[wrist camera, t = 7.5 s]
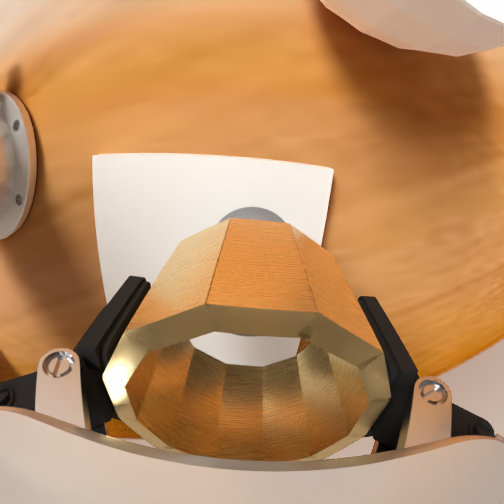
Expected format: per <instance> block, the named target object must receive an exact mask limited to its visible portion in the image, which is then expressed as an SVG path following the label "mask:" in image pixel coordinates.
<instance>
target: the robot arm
mask: <svg viewBox="0 0 504 504" xmlns="http://www.w3.org/2000/svg"><path fill="white" fill-rule="evenodd" d="M36 166H37V157H36V143H35V137H34V132H33V127H32V124H31V120H30V117H29V114H28V112H27V110H26V108H25V106H24V104H23V103H22V102H21V101H20V100H19V98H18V97H17V96H15V95H14V94H12V93H10V92H6V91H0V240H1V239H4V238H7V237H8V236H10V235H11V234H13V233H15V232H16V231H17V230H18V229H19V228H20V227H21V226H22V224H23V222H24V220H25V219H26V217H27V215H28V212H29V209H30V207H31V204H32V199H33V195H34V191H35V182H36ZM150 288H151V284H150V282H147V281H146V278H145V277H139V276H129V277H128V278H127V280H126V281H125V282H124V283H123V285H122V286H121V287H120V288H119V290H118V291H117V292H116V294H115V295H114V296H113V298H112V299H111V300H110V302H109V303H108V304H107V306H106V307H104V308H103V309H102V311H101V312H100V313H99V315H98V316H97V317H96V319H95V320H94V322H93V323H92V324H91V326H90V327H89V329H88V330H87V331H86V333H85V334H84V336H83V337H82V338H81V340H80V341H79V343H78V344H77V346H76V347H75V348H74V350H73V351H72V350H70V349H67V348H57V349H53V350H51V351H49V352H47V353H46V354H44V355H43V356H42V358H41V359H40V361H39V364H38V371H37V372H34V373H31V374H28V375H24V376H21V377H18V378H15V379H11V380H8V381H5V382H1V383H0V504H504V437H502V436H500V435H499V434H496V435H494V430H493V428H492V426H491V425H490V423H489V422H488V421H486V420H485V419H483V418H481V417H479V416H477V415H475V414H473V413H471V412H469V411H467V410H465V409H463V408H461V407H459V406H457V405H455V404H452V396H451V391H450V389H449V387H448V386H447V385H446V384H445V382H443V381H442V380H440V379H438V378H436V377H432V376H423V377H421V378H419V376H418V374H417V372H418V370H417V368H416V366H415V364H414V362H413V361H412V359H411V357H410V355H409V353H408V351H407V350H406V348H405V346H404V344H403V343H402V341H401V339H400V337H399V336H398V334H397V332H396V331H395V329H394V327H393V325H392V324H391V322H390V320H389V319H388V317H387V315H386V314H385V312H384V310H383V309H382V307H381V306H380V304H379V302H378V301H377V299H376V298H375V297H368V296H360V297H359V298H358V300H357V301H358V303H359V305H360V306H361V308H362V310H363V312H364V314H365V316H366V318H367V320H368V322H369V324H370V326H371V328H372V330H373V332H374V334H375V336H376V338H377V340H378V342H379V344H380V346H381V348H382V350H383V352H384V357H385V363H386V368H387V374H388V379H389V386H390V392H391V399H390V401H389V402H388V404H387V405H386V407H385V408H384V410H383V411H382V413H381V414H380V415H379V417H378V418H377V420H376V421H375V423H374V424H373V425H372V427H371V428H370V429H369V431H368V432H367V433H366V435H364V436H363V437H369V436H373V438H374V439H375V443H374V446H373V449H372V452H371V454H370V455H363V456H355V457H347V458H338V459H327V460H312V461H246V460H232V459H221V458H211V457H203V456H196V455H189V454H183V453H177V452H171V451H166V450H161V449H156V448H151V447H147V446H143V445H139V444H135V443H131V442H127V441H124V440H120V439H117V438H113V437H110V435H109V430H108V425H107V422H109V421H111V418H114V419H118V420H121V419H120V418H119V417H118V415H117V412H116V410H115V408H114V406H113V403H112V401H111V399H110V396H109V394H108V391H107V389H106V386H105V384H104V381H103V379H102V375H103V373H104V371H105V369H106V367H107V365H108V363H109V361H110V359H111V357H112V355H113V353H114V351H115V349H116V347H117V345H118V343H119V341H120V339H121V337H122V335H123V333H124V331H125V330H126V328H127V326H128V324H129V323H130V321H131V319H132V318H133V316H134V314H135V313H136V311H137V309H138V308H139V306H140V304H141V303H142V301H143V299H144V298H145V296H146V294H147V293H148V291H149V290H150ZM121 421H122V420H121Z"/></svg>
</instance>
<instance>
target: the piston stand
mask: <svg viewBox="0 0 504 504" xmlns="http://www.w3.org/2000/svg"><path fill="white" fill-rule="evenodd" d="M333 172H334V169H332V168H330V167H324V166H317V165H310V164H303V163H295V162H287V161H279V160H270V159H260V158H249V157H237V156H223V155H205V154H180V153H115V154H98V155H94V156H93V196H94V212H95V225H96V235H97V244H98V252H99V260H100V267H101V273H102V280H103V285H104V291H105V297H106V302H107V304H108V303H109V302H110V300H111V299H112V298H113V296H114V295H115V294H116V292H117V291H118V290H119V288H120V287H121V286H122V285H123V283H124V282H125V281H126V280H127V278H128V277H129V276H139V277H145V278H146V281H147V282H150V284H151V286H152V285H153V283H154V281H155V280H156V278H157V277H158V275H159V274H160V272H161V270H162V269H163V267H164V266H165V264H166V263H167V261H168V260H169V258H170V256H171V255H172V253H173V252H174V250H175V249H176V247H177V246H178V244H179V243H180V241H181V240H183V239H185V238H188V237H190V236H192V235H194V234H196V233H198V232H200V231H203V230H205V229H207V228H209V227H211V226H213V225H216V224H218V223H220V222H222V221H224V220H227V219H229V218H241V219H252V220H262V221H273V222H283V223H289V224H291V225H293V226H294V227H295V228H297V229H298V230H300V231H301V232H302V233H304V234H305V235H306V236H308V237H309V238H311V239H312V240H313V241H315V242H316V243H317V244H319V245H320V246H321V244H322V238H323V233H324V227H325V222H326V216H327V210H328V204H329V198H330V192H331V185H332V179H333ZM300 339H301V338H287V337H270V336H257V335H244V334H233V333H223V332H212V333H208V334H205V335H202V336H199V337H196V338H193V339H190V342H191V343H192V344H193V346H194V347H195V348H197V349H199V350H201V351H203V352H205V353H206V354H208V355H210V356H212V357H214V358H216V359H218V360H220V361H222V362H224V363H226V364H236V365H248V366H262V367H263V366H266V365H269V364H272V363H276V362H279V361H282V360H285V359H288V358H291V357H294V356H296V354H297V350H298V346H299V343H300Z"/></svg>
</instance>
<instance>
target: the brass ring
mask: <svg viewBox="0 0 504 504" xmlns="http://www.w3.org/2000/svg"><path fill="white" fill-rule="evenodd" d="M212 332H223V333H233V334H244V335H257V336H270V337H287V338H303V339H305V340H307V341H309V342H311V343H310V344H309V345H308V346H307V347H305V348H304V349H303V350H302V351H301V352H300V353H299V354H298V355H297V356H294V357H291V358H288V359H285V360H282V361H279V362H276V363H272V364H269V365H266V366H263V367H262V366H248V365H236V364H226V363H224V362H222V361H220V360H218V359H216V358H214V357H212V356H210V355H208V354H206V353H205V352H203V351H201V350H199V349H197V348H195V347H194V346H193V344H192V343H191V342H190V339H193V338H196V337H199V336H202V335H205V334H208V333H212ZM102 379H103V381H104V384H105V386H106V389H107V391H108V394H109V396H110V399H111V401H112V403H113V406H114V408H115V410H116V412H117V415H118V417H119V418H120V419H121V420H122V421H123V422H124V423H125V424H126V425H128V426H129V427H130V428H131V429H132V430H134V431H135V432H136V433H137V434H139V435H140V436H141V437H142V438H144V439H145V440H146V441H148V442H149V443H151V445H153V446H154V447H156V448H157V449H161V450H166V451H171V452H177V453H183V454H189V455H196V456H203V457H211V458H221V459H232V460H246V461H312V460H323V459H325V458H327V457H329V456H330V455H332V454H334V453H336V452H338V451H340V450H341V449H343V448H345V447H347V446H348V445H350V444H352V443H354V442H355V441H357V440H358V439H360V438H362V437H363V436H364V435H366V433H367V432H368V431H369V429H370V428H371V427H372V425H373V424H374V423H375V421H376V420H377V418H378V417H379V415H380V414H381V413H382V411H383V410H384V408H385V407H386V405H387V404H388V402H389V401H390V399H391V392H390V386H389V379H388V374H387V368H386V363H385V357H384V352H383V350H382V348H381V346H380V344H379V342H378V340H377V338H376V336H375V334H374V332H373V330H372V328H371V326H370V324H369V322H368V320H367V318H366V316H365V314H364V312H363V310H362V308H361V306H360V305H359V303H358V301H357V299H356V297H355V295H354V293H353V291H352V289H351V288H350V286H349V284H348V282H347V280H346V278H345V277H344V275H343V273H342V271H341V269H340V268H339V266H338V264H337V262H336V260H335V259H334V257H333V255H332V254H331V253H329V252H328V251H327V250H325V249H324V248H323V247H321V246H320V245H319V244H317V243H316V242H315V241H313V240H312V239H311V238H309V237H308V236H306V235H305V234H304V233H302V232H301V231H300V230H298V229H297V228H295V227H294V226H293V225H291V224H289V223H283V222H273V221H262V220H252V219H241V218H229V219H227V220H224V221H222V222H220V223H218V224H216V225H213V226H211V227H209V228H207V229H205V230H203V231H200V232H198V233H196V234H194V235H192V236H190V237H188V238H185V239H183V240H181V241H180V243H179V244H178V246H177V247H176V249H175V250H174V252H173V253H172V255H171V256H170V258H169V260H168V261H167V263H166V264H165V266H164V267H163V269H162V270H161V272H160V274H159V275H158V277H157V278H156V280H155V281H154V283H153V285H152V286H151V288H150V290H149V291H148V293H147V294H146V296H145V298H144V299H143V301H142V303H141V304H140V306H139V308H138V309H137V311H136V313H135V314H134V316H133V318H132V319H131V321H130V323H129V324H128V326H127V328H126V330H125V331H124V333H123V335H122V337H121V339H120V341H119V343H118V345H117V347H116V349H115V351H114V353H113V355H112V357H111V359H110V361H109V363H108V365H107V367H106V369H105V371H104V373H103V375H102Z"/></svg>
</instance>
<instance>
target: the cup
mask: <svg viewBox="0 0 504 504" xmlns="http://www.w3.org/2000/svg"><path fill="white" fill-rule="evenodd" d="M320 1H321V2H322V3H323V5H324V6H325V7H326V8H328V9H329V10H331V11H332V12H334V13H335V14H337V15H338V16H340V17H341V18H342V19H344V20H345V21H347V22H348V23H349V24H351V25H352V26H353V27H355V28H356V29H357V30H359V31H360V32H362V33H364V34H367V35H369V36H372V37H374V38H377V39H379V40H381V41H383V42H386V43H388V44H390V45H392V46H394V47H397V48H401V49H409V50H417V51H424V52H430V53H437V54H444V55H450V56H455V57H459V56H463V55H467V54H472V53H477V52H482V51H487V50H491V49H494V48H497V47H500V46H504V0H320Z"/></svg>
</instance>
